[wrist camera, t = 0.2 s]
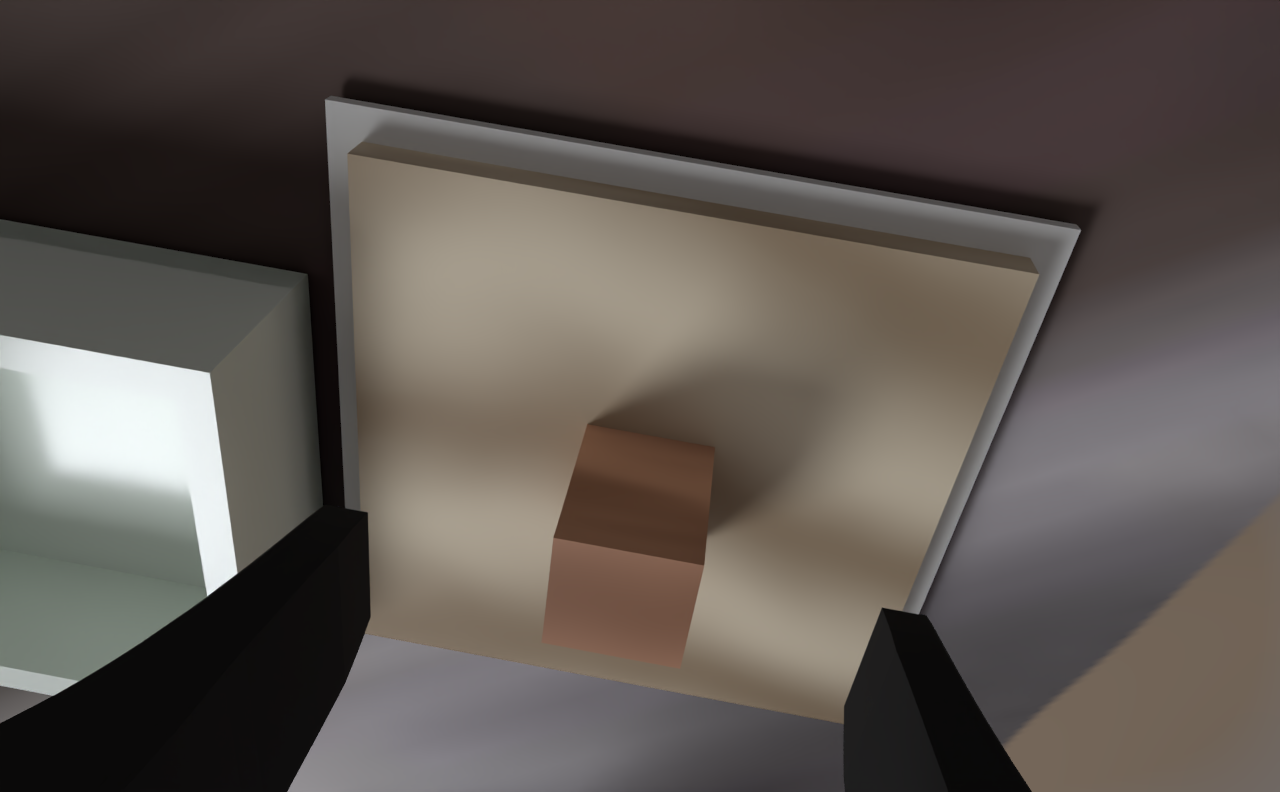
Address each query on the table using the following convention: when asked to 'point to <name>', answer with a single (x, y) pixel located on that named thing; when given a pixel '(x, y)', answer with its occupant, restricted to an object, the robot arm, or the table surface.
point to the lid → (655, 423)
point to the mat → (705, 183)
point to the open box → (140, 439)
